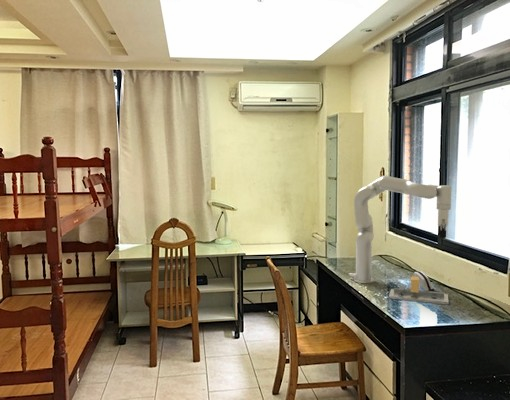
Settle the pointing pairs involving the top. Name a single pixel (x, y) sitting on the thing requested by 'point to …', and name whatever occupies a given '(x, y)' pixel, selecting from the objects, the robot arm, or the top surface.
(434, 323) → the top surface
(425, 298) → the hole plate
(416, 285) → the block
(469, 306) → the top surface
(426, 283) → the grey curved piece
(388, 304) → the top surface
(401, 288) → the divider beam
